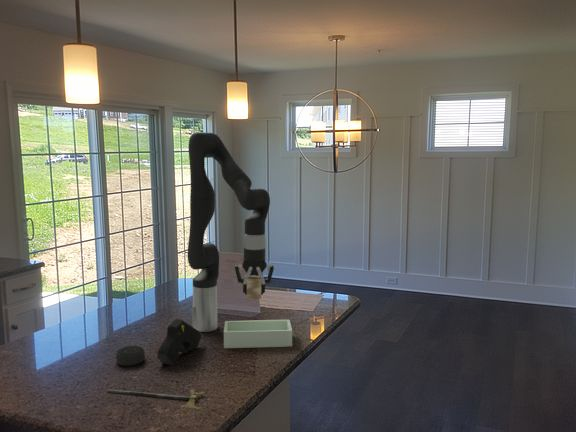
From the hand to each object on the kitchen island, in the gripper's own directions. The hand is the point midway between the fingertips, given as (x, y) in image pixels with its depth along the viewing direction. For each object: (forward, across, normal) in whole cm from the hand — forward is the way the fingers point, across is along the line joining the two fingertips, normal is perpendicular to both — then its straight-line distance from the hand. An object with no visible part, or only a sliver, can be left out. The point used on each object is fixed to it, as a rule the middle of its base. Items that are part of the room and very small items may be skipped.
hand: (254, 293), depth 179 cm
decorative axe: (+19, -26, -36) cm, 49 cm away
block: (+1, 0, 0) cm, 1 cm away
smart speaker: (+20, -40, -12) cm, 46 cm away
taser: (+19, -24, -8) cm, 32 cm away
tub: (+19, +2, +4) cm, 19 cm away
